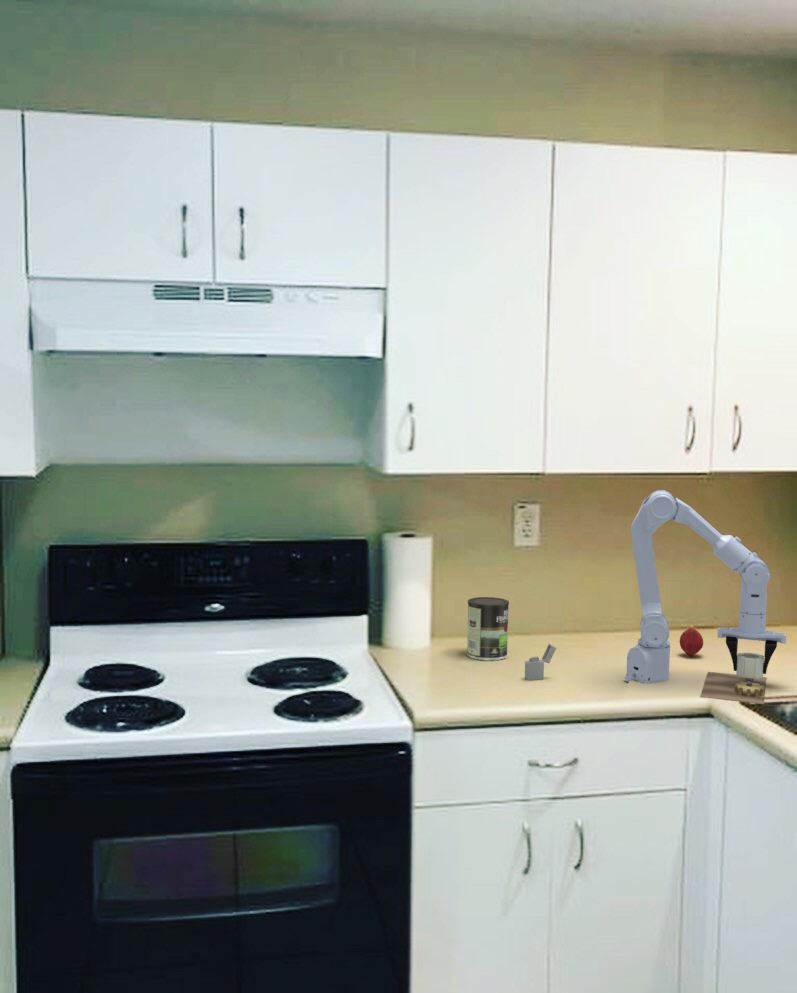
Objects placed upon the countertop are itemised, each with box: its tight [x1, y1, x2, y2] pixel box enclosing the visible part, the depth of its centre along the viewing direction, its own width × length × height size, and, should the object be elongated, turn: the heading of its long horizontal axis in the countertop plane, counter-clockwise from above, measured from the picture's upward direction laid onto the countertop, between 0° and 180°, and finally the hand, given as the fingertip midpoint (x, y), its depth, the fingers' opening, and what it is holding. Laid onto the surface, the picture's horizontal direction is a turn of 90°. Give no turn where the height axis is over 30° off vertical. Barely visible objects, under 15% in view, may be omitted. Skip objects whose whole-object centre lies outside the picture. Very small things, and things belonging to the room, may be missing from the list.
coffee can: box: [466, 596, 510, 662], centre depth 257 cm, size 10×10×14 cm
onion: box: [679, 624, 704, 657], centre depth 259 cm, size 6×6×8 cm
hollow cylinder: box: [736, 652, 765, 678], centre depth 231 cm, size 6×6×4 cm
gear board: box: [699, 671, 767, 705], centre depth 228 cm, size 22×13×4 cm, turn 159°
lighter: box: [524, 643, 557, 682], centre depth 237 cm, size 7×2×8 cm, turn 105°
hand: (749, 671), depth 231 cm, fingers closed on hollow cylinder, 6 cm apart
